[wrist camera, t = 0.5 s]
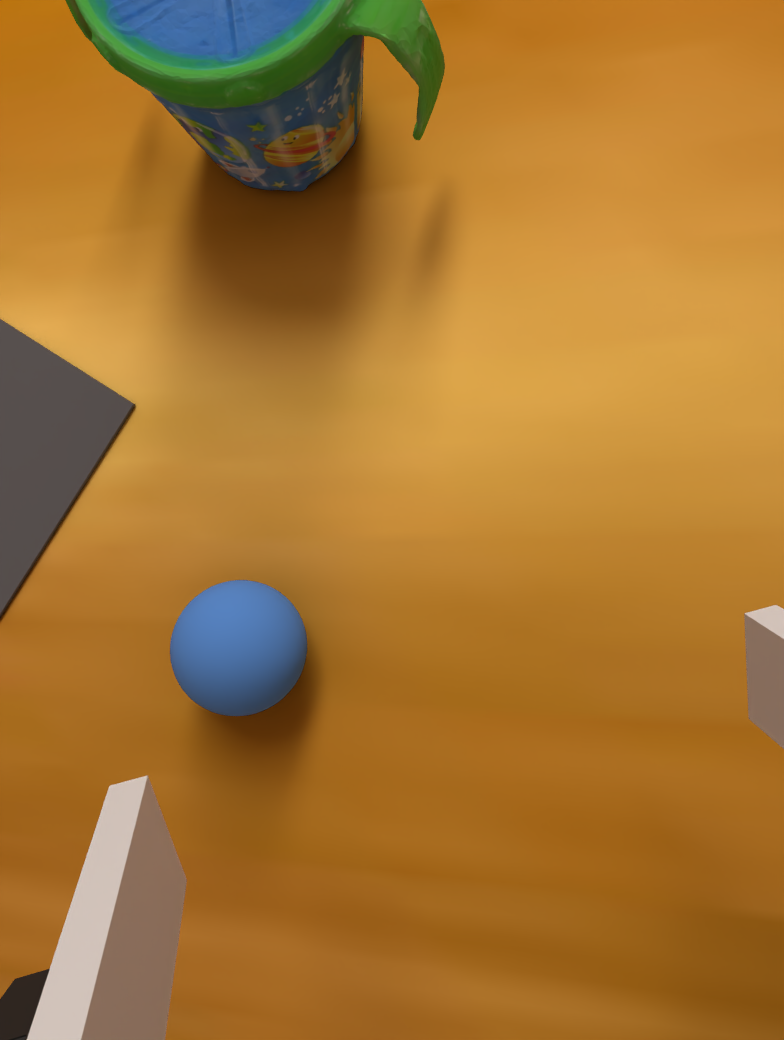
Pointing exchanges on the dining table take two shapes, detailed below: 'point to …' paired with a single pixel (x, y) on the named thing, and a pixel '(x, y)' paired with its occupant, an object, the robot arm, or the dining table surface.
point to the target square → (45, 447)
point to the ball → (238, 648)
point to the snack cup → (264, 73)
